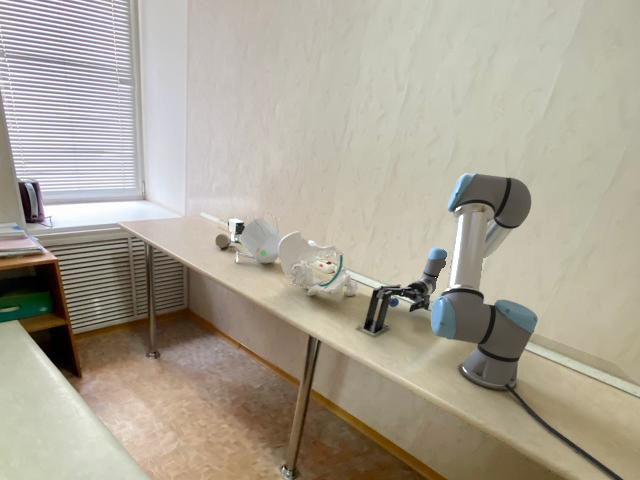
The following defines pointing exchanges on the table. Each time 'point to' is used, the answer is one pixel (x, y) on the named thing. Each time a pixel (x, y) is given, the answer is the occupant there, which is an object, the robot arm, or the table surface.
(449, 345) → the table surface
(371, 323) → the lever stand
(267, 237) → the satellite
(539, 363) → the table surface
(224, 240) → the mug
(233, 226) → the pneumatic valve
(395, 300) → the tap lever
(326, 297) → the table surface
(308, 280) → the pelvis
